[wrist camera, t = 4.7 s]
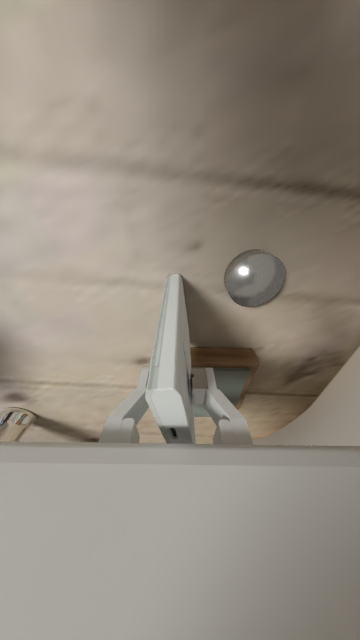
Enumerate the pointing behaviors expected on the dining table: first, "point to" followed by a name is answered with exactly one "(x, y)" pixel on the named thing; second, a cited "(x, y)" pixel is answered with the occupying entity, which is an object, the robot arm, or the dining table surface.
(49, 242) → the dining table surface
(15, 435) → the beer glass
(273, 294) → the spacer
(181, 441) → the external hard drive
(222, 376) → the mirror
